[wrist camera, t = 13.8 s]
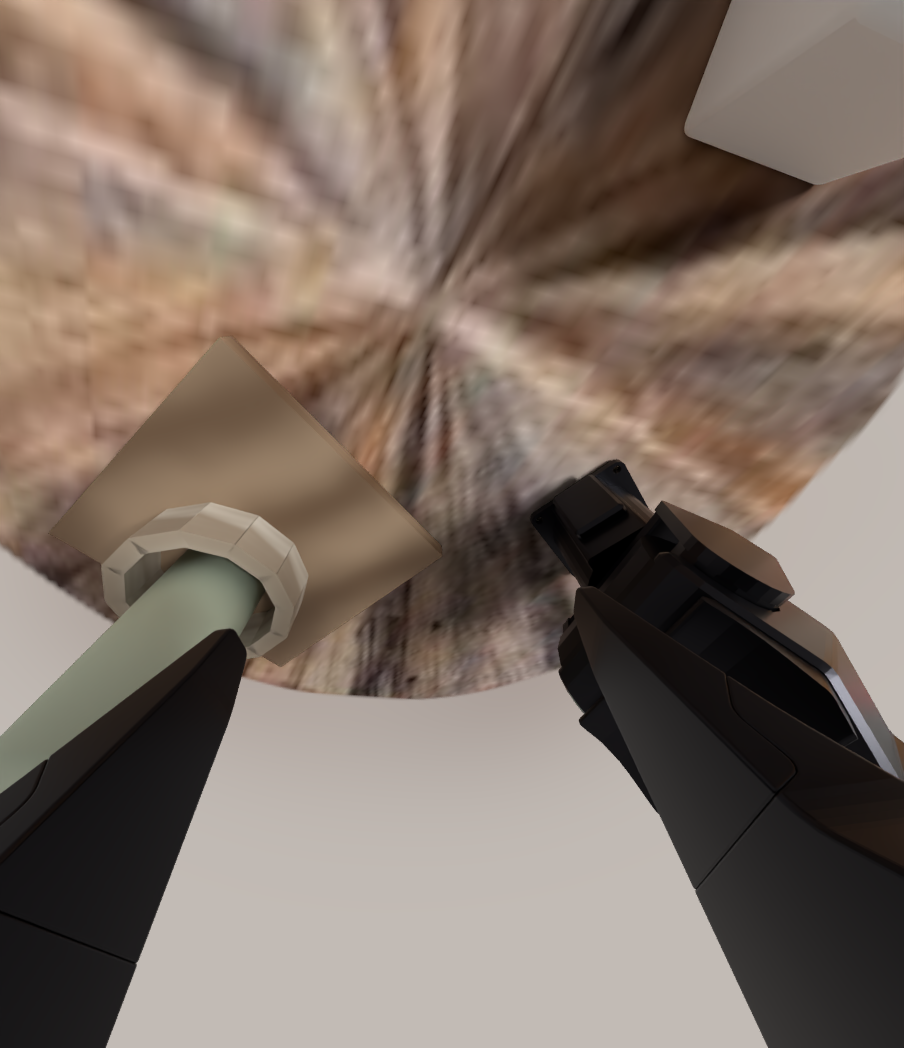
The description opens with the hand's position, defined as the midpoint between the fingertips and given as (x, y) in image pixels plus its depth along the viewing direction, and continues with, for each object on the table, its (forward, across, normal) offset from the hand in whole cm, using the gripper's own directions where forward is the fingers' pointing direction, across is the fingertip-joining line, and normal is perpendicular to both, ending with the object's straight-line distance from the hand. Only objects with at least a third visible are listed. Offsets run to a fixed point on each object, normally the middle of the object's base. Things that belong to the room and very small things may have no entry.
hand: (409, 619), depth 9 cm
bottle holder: (+13, +10, +4) cm, 17 cm away
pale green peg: (+12, +13, +6) cm, 18 cm away
